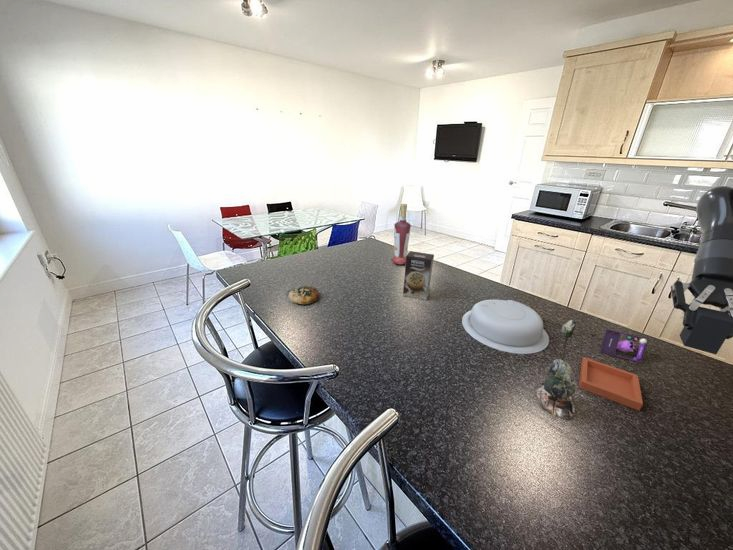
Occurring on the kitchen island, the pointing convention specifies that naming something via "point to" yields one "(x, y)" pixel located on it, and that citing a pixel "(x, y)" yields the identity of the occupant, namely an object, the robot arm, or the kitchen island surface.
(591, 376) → the base pad
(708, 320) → the pad block
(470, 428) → the kitchen island surface
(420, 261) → the dark cardboard box
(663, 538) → the kitchen island surface
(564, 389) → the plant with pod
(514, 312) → the grey round dish
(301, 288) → the bread roll
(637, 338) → the purple box
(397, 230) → the liquor
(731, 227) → the robot arm
